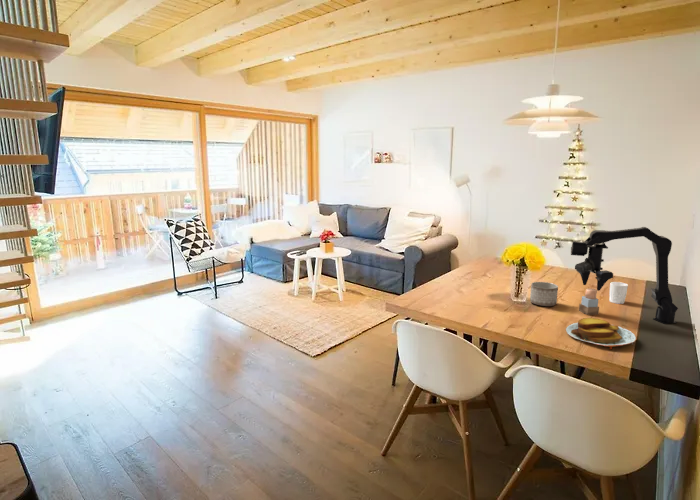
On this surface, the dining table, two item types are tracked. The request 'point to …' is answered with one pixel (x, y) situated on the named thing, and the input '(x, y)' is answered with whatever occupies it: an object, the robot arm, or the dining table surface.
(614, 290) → the white cup
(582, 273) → the robot arm
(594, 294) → the pink rounded block
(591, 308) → the tower base
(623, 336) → the food on plate
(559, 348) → the dining table surface
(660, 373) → the dining table surface
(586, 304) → the tower top
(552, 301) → the planter
